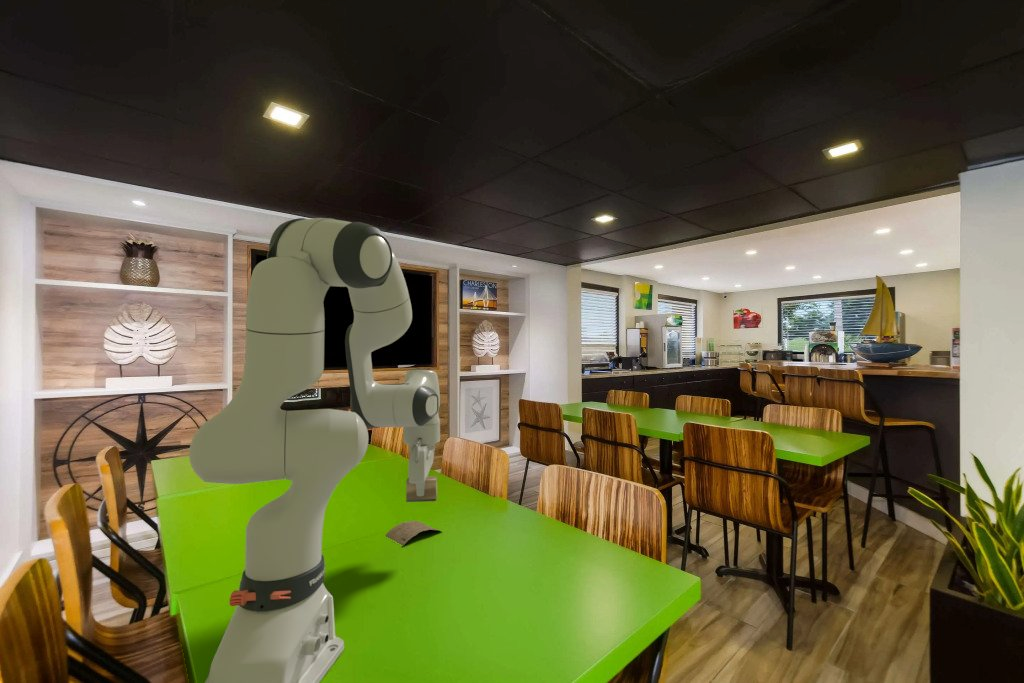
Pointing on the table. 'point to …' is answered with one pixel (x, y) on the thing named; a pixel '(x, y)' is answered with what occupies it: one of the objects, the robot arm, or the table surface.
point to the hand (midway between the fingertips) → (421, 492)
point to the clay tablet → (407, 531)
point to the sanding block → (429, 490)
